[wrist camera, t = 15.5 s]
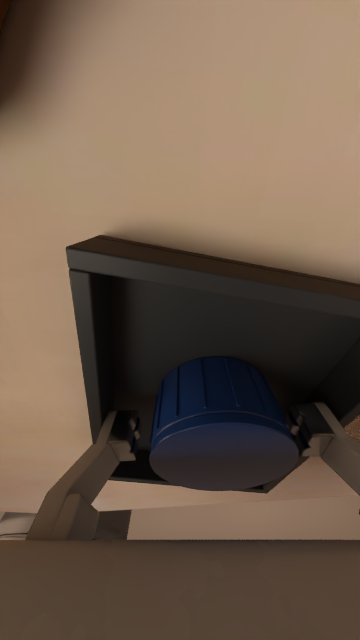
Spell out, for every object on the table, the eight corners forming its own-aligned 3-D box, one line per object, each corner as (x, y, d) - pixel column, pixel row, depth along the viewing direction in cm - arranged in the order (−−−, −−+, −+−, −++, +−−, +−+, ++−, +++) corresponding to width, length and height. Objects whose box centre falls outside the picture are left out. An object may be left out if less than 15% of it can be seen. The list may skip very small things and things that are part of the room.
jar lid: (276, 351, 9) (321, 419, 6) (259, 424, 12) (282, 490, 9) (148, 358, 9) (134, 426, 6) (165, 427, 12) (159, 492, 10)
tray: (256, 457, 16) (266, 493, 14) (108, 442, 15) (97, 479, 13) (398, 291, 8) (472, 320, 6) (98, 234, 7) (63, 246, 5)
